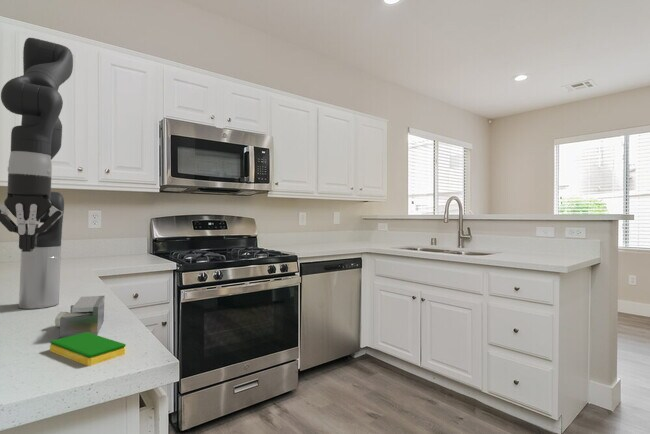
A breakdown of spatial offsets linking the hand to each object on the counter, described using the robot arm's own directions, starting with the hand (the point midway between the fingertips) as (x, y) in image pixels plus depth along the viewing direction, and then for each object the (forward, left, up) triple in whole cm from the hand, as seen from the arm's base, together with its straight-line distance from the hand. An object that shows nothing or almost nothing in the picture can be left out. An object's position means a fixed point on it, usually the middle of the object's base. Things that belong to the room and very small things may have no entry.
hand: (27, 251), depth 81 cm
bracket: (0, +11, -19) cm, 22 cm away
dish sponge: (+17, +14, -19) cm, 29 cm away
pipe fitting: (-1, +9, -19) cm, 21 cm away
